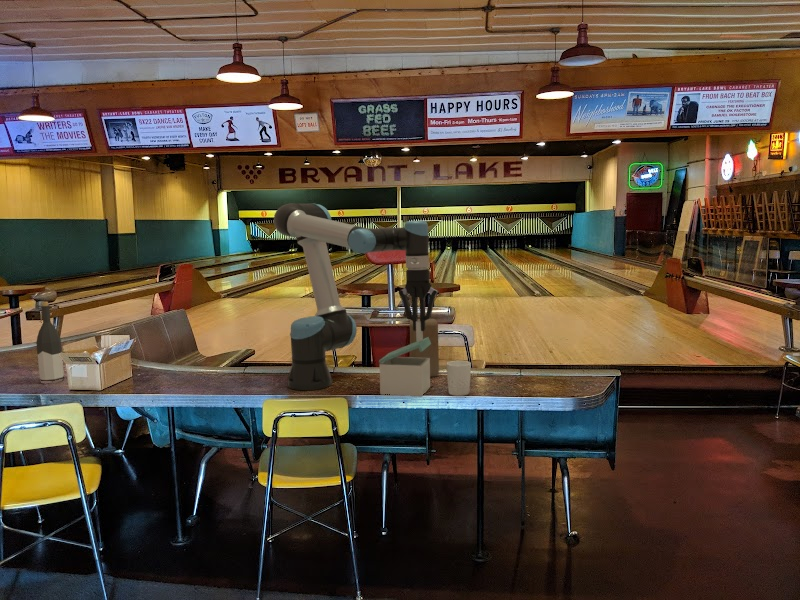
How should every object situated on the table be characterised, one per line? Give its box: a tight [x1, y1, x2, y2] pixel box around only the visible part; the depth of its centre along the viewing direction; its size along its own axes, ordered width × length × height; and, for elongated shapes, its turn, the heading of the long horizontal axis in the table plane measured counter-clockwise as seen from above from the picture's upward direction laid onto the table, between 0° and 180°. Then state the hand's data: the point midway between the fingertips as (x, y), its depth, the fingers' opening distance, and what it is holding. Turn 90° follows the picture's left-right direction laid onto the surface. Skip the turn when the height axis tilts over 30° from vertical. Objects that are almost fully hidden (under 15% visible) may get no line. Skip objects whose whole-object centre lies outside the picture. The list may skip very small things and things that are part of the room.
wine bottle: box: [35, 301, 65, 381], centre depth 235 cm, size 8×8×30 cm
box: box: [379, 356, 431, 397], centre depth 210 cm, size 14×12×10 cm
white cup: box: [446, 360, 472, 397], centre depth 205 cm, size 8×8×10 cm
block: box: [409, 318, 440, 378], centre depth 231 cm, size 10×10×20 cm
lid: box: [378, 337, 431, 364], centre depth 209 cm, size 15×13×2 cm
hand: (419, 340), depth 207 cm, fingers closed
